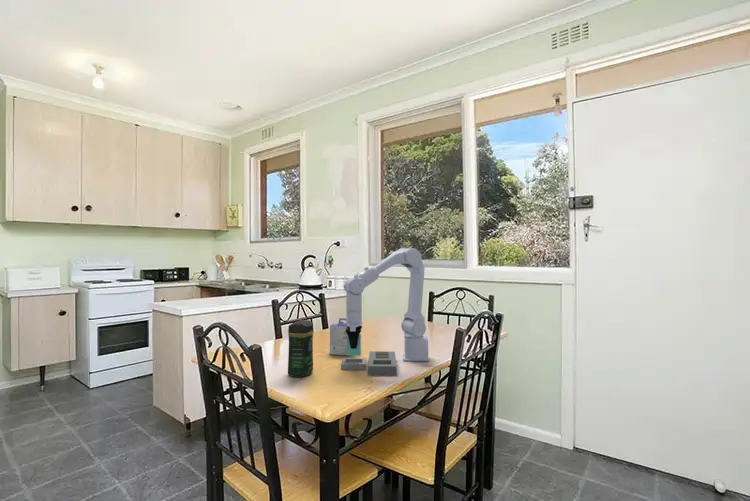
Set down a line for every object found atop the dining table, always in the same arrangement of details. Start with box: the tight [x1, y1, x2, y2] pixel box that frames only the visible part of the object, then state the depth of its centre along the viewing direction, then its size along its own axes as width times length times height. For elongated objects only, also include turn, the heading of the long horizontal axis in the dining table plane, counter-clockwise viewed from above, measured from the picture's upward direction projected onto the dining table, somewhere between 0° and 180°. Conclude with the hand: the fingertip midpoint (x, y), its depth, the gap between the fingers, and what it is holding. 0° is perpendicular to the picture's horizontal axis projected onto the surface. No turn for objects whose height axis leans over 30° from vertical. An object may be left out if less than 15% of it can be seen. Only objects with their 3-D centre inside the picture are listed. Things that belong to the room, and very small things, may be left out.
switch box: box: [367, 350, 398, 376], centre depth 149 cm, size 10×20×3 cm, turn 179°
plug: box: [346, 333, 362, 357], centre depth 150 cm, size 5×4×8 cm
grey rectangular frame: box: [340, 357, 367, 371], centre depth 150 cm, size 9×8×2 cm
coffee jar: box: [287, 319, 314, 378], centre depth 141 cm, size 10×8×19 cm
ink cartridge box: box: [329, 317, 348, 356], centre depth 168 cm, size 10×6×14 cm, turn 78°
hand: (354, 346), depth 150 cm, fingers closed on plug, 4 cm apart
